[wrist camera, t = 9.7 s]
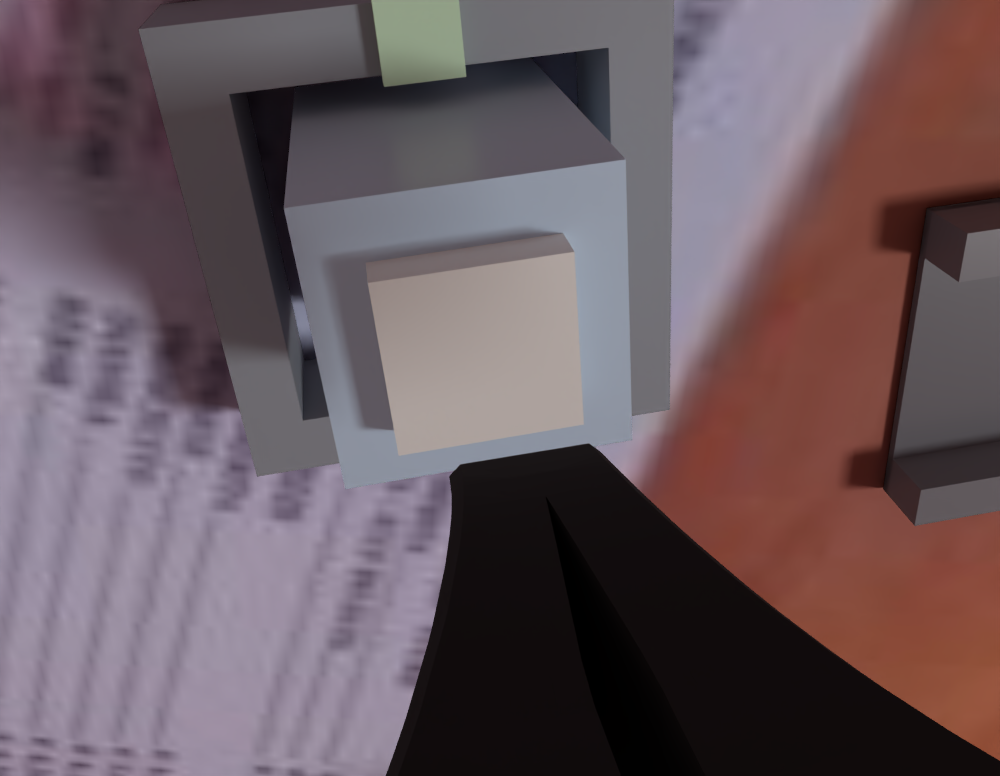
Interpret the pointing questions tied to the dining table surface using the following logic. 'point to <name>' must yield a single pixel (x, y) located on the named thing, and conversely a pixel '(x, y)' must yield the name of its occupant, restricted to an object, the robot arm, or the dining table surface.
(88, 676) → the dining table surface
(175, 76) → the port
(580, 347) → the plug
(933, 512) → the grey ridged plate
